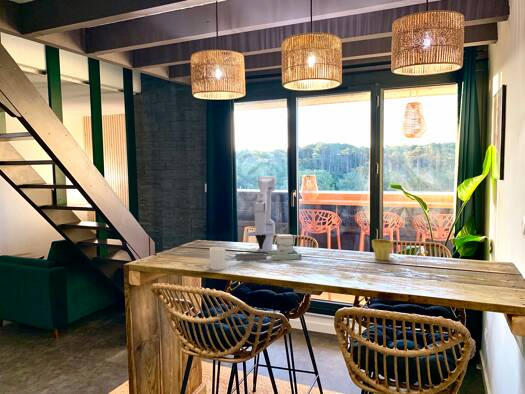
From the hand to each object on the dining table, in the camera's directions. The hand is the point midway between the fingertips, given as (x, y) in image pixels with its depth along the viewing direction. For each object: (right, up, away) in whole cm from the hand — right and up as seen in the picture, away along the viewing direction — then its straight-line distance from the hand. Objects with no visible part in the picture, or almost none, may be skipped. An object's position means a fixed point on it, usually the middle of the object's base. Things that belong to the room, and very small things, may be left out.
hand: (260, 248), depth 220 cm
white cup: (-21, -7, -23) cm, 32 cm away
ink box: (+13, -5, +3) cm, 15 cm away
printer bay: (-5, -5, -1) cm, 7 cm away
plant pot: (+64, -5, -5) cm, 65 cm away
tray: (+13, -5, +2) cm, 14 cm away
